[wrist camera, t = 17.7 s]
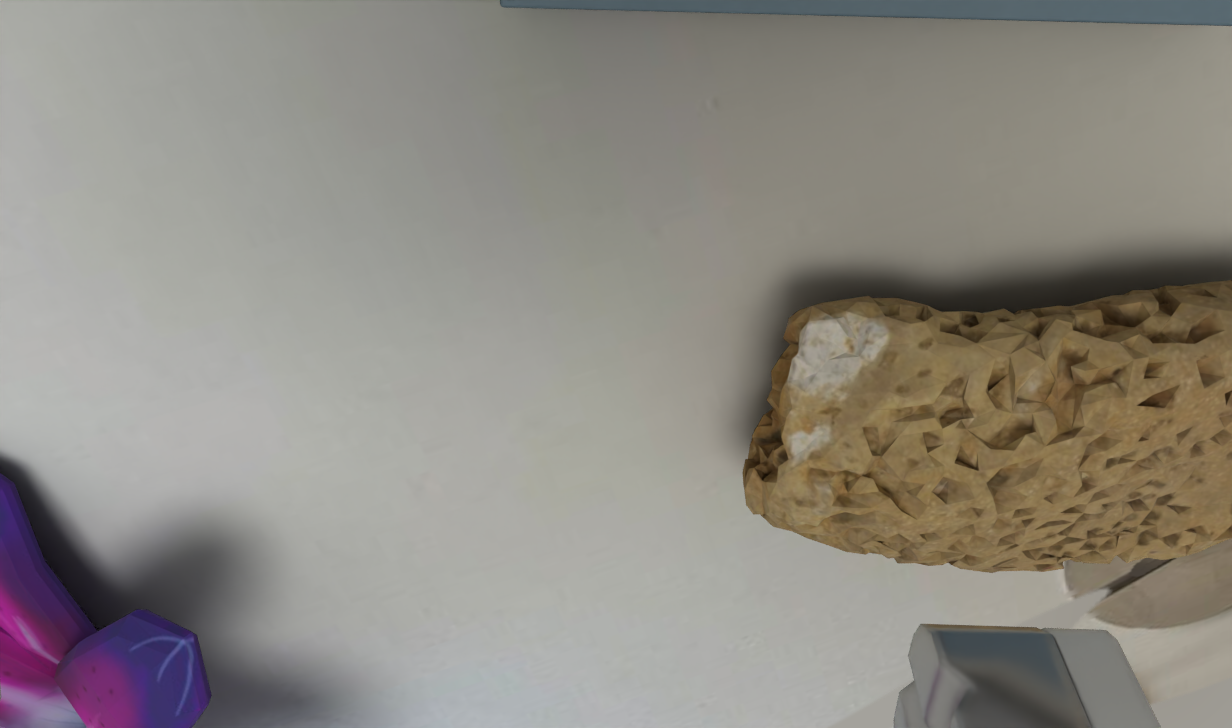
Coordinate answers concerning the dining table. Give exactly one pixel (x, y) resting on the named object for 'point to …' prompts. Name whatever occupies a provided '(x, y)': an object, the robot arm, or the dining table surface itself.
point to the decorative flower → (84, 650)
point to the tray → (934, 9)
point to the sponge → (1003, 430)
